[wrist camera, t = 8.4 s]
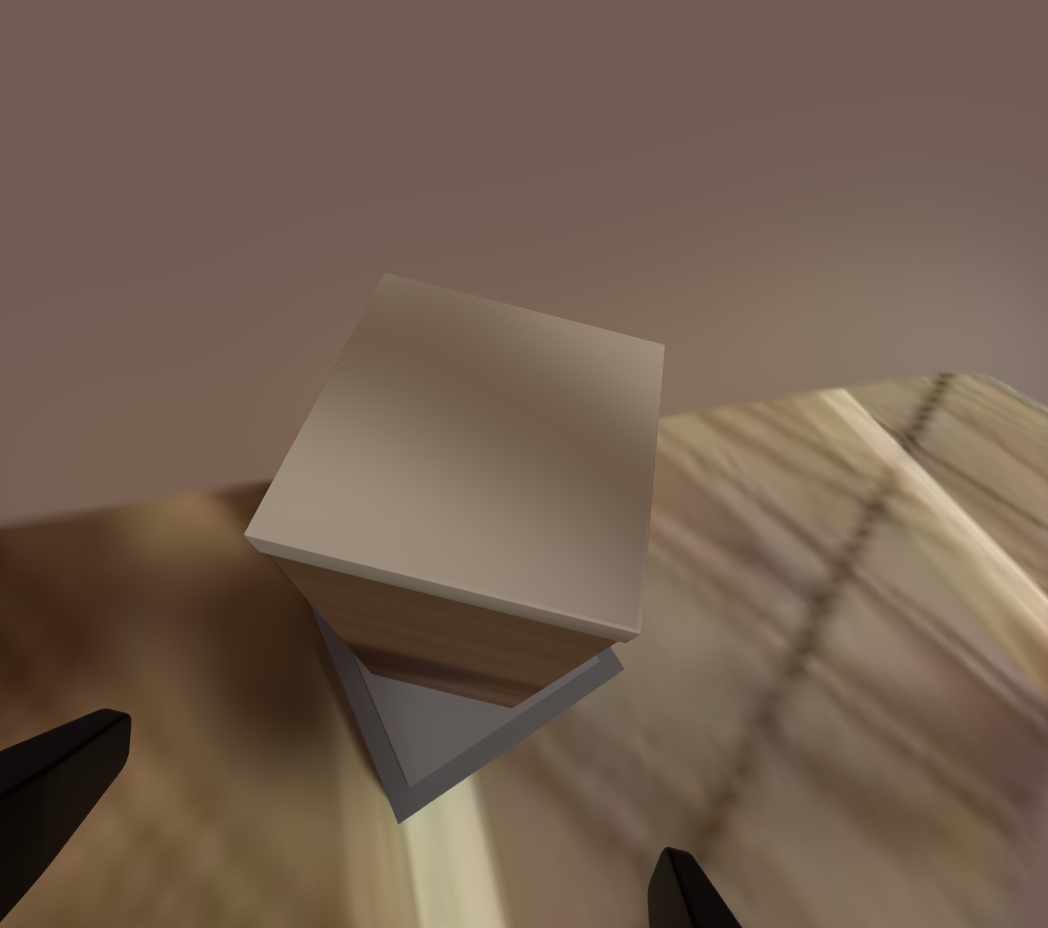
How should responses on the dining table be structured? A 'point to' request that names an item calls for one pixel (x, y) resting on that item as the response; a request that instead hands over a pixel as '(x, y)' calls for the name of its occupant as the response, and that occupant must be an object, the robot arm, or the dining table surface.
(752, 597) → the dining table surface
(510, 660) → the brown tall rectangular block
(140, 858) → the dining table surface
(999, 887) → the dining table surface
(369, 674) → the slate base
